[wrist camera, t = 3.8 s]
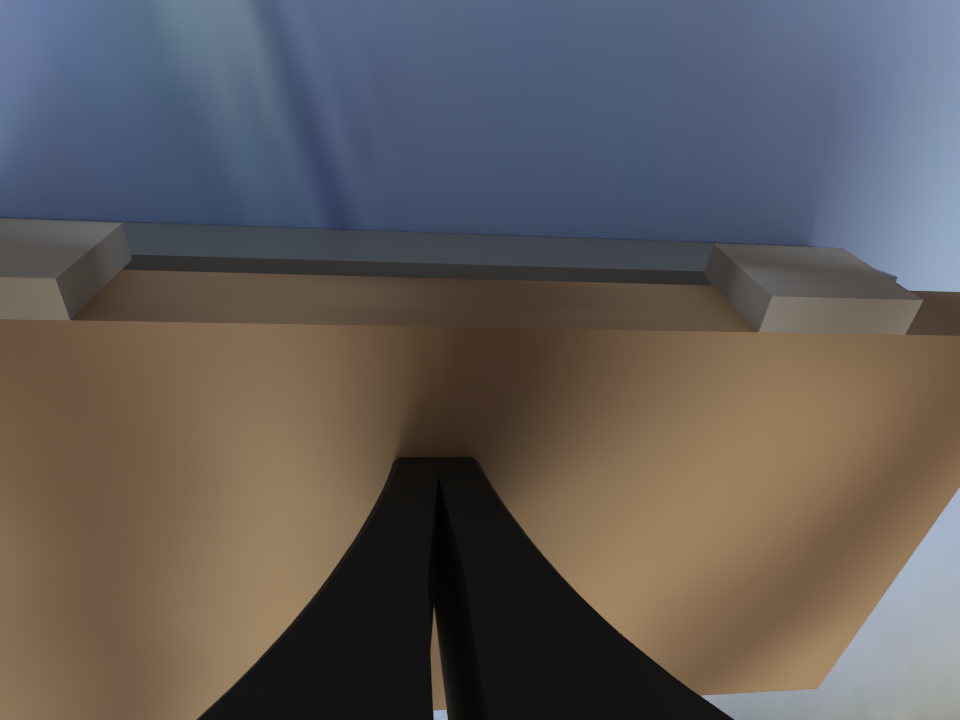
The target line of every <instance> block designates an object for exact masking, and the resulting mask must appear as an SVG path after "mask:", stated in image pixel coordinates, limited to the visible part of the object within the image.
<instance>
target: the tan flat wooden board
mask: <svg viewBox="0 0 960 720" xmlns="http://www.w3.org/2000/svg"><path fill="white" fill-rule="evenodd" d="M131 260H132V258H131V254H130V250H129V246H128V243H127V239H126V235H125V231H124V228H123V224H122V223H106V222H78V221H49V220H21V219H0V720H196V719H198V718H199V717H200V716H201V715H202V714H203V713H204V712H205V711H206V710H207V709H208V708H209V707H211V706H212V705H213V704H214V703H215V702H216V701H217V700H218V699H219V698H220V697H221V696H222V695H223V694H225V693H226V692H227V691H228V690H229V689H230V688H231V687H232V686H233V685H234V684H235V683H236V682H237V681H238V680H239V679H240V678H241V677H242V676H243V675H244V674H245V673H246V672H247V671H248V670H249V669H250V668H251V667H252V666H253V665H254V664H255V663H256V662H257V661H258V659H259V658H260V657H261V656H262V655H263V654H264V653H265V652H266V651H267V650H268V649H269V647H270V646H271V645H272V644H273V643H274V642H275V641H276V640H277V639H278V638H279V637H280V635H281V634H282V633H283V632H284V631H285V630H286V629H287V628H288V627H289V626H290V624H291V623H292V622H293V621H294V620H295V618H296V617H297V616H298V615H299V614H300V612H301V611H302V610H303V609H304V608H305V606H306V605H307V604H308V603H309V602H310V600H311V599H312V598H313V597H314V595H315V594H316V593H317V591H318V590H319V589H320V588H321V586H322V585H323V584H324V582H325V581H326V580H327V578H328V577H329V576H330V574H331V573H332V571H333V570H334V568H335V567H336V566H337V564H338V563H339V561H340V560H341V558H342V557H343V555H344V554H345V552H346V551H347V549H348V548H349V547H350V545H351V544H352V542H353V541H354V539H355V538H356V536H357V534H358V533H359V531H360V529H361V528H362V526H363V524H364V522H365V521H366V519H367V517H368V516H369V514H370V512H371V510H372V509H373V507H374V505H375V503H376V501H377V499H378V497H379V495H380V493H381V491H382V489H383V487H384V485H385V483H386V481H387V478H388V476H389V473H390V471H391V468H392V464H393V462H394V461H396V460H397V459H398V458H399V457H473V458H475V459H476V460H477V461H478V462H479V464H480V466H481V468H482V470H483V471H484V473H485V475H486V477H487V478H488V480H489V482H490V483H491V485H492V486H493V488H494V489H495V491H496V492H497V494H498V496H499V497H500V499H501V500H502V502H503V503H504V504H505V506H506V507H507V509H508V510H509V512H510V513H511V514H512V516H513V517H514V518H515V520H516V521H517V522H518V524H519V525H520V526H521V528H522V529H523V530H524V532H525V533H526V534H527V535H528V537H529V538H530V539H531V541H532V542H533V543H534V544H535V545H536V547H537V548H538V549H539V550H540V552H541V553H542V554H543V555H544V556H545V557H546V559H547V560H548V561H549V562H550V563H551V564H552V565H553V567H554V568H555V569H556V570H557V571H558V572H559V573H560V575H561V576H562V577H563V578H564V579H565V580H566V581H567V582H568V583H569V584H570V585H571V586H572V587H573V588H574V590H575V591H576V592H577V593H578V594H579V595H580V596H581V597H582V598H583V599H584V600H585V601H586V602H587V603H588V604H589V605H590V606H592V607H593V608H594V609H595V610H596V611H597V612H598V613H599V614H600V615H601V616H602V617H603V618H604V619H605V620H606V621H607V622H608V623H609V624H611V625H612V626H613V627H614V628H615V629H616V630H617V631H618V632H619V633H621V634H622V635H623V636H624V637H625V638H627V639H628V640H629V641H630V642H631V643H633V644H634V645H635V646H636V647H638V648H639V649H640V650H641V651H643V652H644V653H645V654H646V655H647V656H649V657H650V658H651V659H652V660H654V661H655V662H656V663H657V664H659V665H660V666H661V667H662V668H664V669H665V670H666V671H667V672H668V673H670V674H671V675H672V676H674V677H675V678H676V679H678V680H679V681H680V682H682V683H683V684H684V685H686V686H687V687H688V688H690V689H691V690H692V691H694V692H695V693H697V694H698V695H716V694H733V693H751V692H769V691H787V690H805V689H818V687H819V686H820V684H821V683H822V682H823V680H824V679H825V677H826V676H827V674H828V673H829V672H830V670H831V669H832V667H833V666H834V665H835V663H836V662H837V660H838V659H839V657H840V656H841V655H842V653H843V652H844V650H845V649H846V648H847V646H848V645H849V643H850V642H851V640H852V639H853V638H854V636H855V635H856V633H857V632H858V630H859V629H860V628H861V626H862V625H863V623H864V622H865V621H866V619H867V618H868V616H869V615H870V613H871V612H872V611H873V609H874V608H875V606H876V605H877V604H878V602H879V601H880V599H881V598H882V596H883V595H884V594H885V592H886V591H887V589H888V588H889V587H890V585H891V584H892V582H893V581H894V579H895V578H896V577H897V575H898V574H899V572H900V571H901V570H902V568H903V567H904V565H905V564H906V562H907V561H908V560H909V558H910V557H911V555H912V554H913V552H914V551H915V550H916V548H917V547H918V545H919V544H920V543H921V541H922V540H923V538H924V537H925V535H926V534H927V533H928V531H929V530H930V528H931V527H932V526H933V524H934V523H935V521H936V520H937V518H938V517H939V516H940V514H941V513H942V511H943V510H944V509H945V507H946V506H947V504H948V503H949V501H950V500H951V499H952V497H953V496H954V494H955V493H956V492H957V490H958V489H959V487H960V292H934V291H908V290H907V289H905V288H904V287H902V286H901V285H899V284H897V283H896V282H894V281H893V280H891V279H890V278H888V277H886V276H885V275H883V274H882V273H880V272H879V271H877V270H875V269H874V268H872V267H871V266H869V265H868V264H866V263H864V262H863V261H861V260H860V259H858V258H857V257H855V256H853V255H852V254H850V253H849V252H847V251H846V250H844V249H842V248H817V247H788V246H760V245H731V244H713V248H712V251H711V254H710V258H709V261H708V264H707V268H706V271H705V274H704V276H705V277H706V278H707V279H708V280H709V281H710V282H711V283H712V285H713V286H710V285H672V284H635V283H597V282H560V281H523V280H485V279H448V278H410V277H373V276H335V275H298V274H261V273H223V272H186V271H148V270H122V269H123V268H124V267H125V266H126V265H127V264H128V263H129V262H130V261H131ZM431 675H432V697H433V710H447V707H446V699H445V691H444V683H443V675H442V667H441V659H440V651H439V643H438V634H437V626H436V618H435V610H434V614H433V627H432V641H431Z"/></svg>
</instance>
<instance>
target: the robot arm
mask: <svg viewBox="0 0 960 720" xmlns="http://www.w3.org/2000/svg"><path fill="white" fill-rule="evenodd" d="M434 610H435V618H436V626H437V634H438V643H439V651H440V659H441V667H442V675H443V683H444V691H445V699H446V707H447V715H448V720H734V719H732V718H731V717H729V716H728V715H727V714H725V713H724V712H722V711H721V710H719V709H718V708H717V707H715V706H714V705H712V704H711V703H710V702H708V701H707V700H705V699H704V698H702V697H701V696H700V695H698V694H697V693H695V692H694V691H692V690H691V689H690V688H688V687H687V686H686V685H684V684H683V683H682V682H680V681H679V680H678V679H676V678H675V677H674V676H672V675H671V674H670V673H668V672H667V671H666V670H665V669H664V668H662V667H661V666H660V665H659V664H657V663H656V662H655V661H654V660H652V659H651V658H650V657H649V656H647V655H646V654H645V653H644V652H643V651H641V650H640V649H639V648H638V647H636V646H635V645H634V644H633V643H631V642H630V641H629V640H628V639H627V638H625V637H624V636H623V635H622V634H621V633H619V632H618V631H617V630H616V629H615V628H614V627H613V626H612V625H611V624H609V623H608V622H607V621H606V620H605V619H604V618H603V617H602V616H601V615H600V614H599V613H598V612H597V611H596V610H595V609H594V608H593V607H592V606H590V605H589V604H588V603H587V602H586V601H585V600H584V599H583V598H582V597H581V596H580V595H579V594H578V593H577V592H576V591H575V590H574V588H573V587H572V586H571V585H570V584H569V583H568V582H567V581H566V580H565V579H564V578H563V577H562V576H561V575H560V573H559V572H558V571H557V570H556V569H555V568H554V567H553V565H552V564H551V563H550V562H549V561H548V560H547V559H546V557H545V556H544V555H543V554H542V553H541V552H540V550H539V549H538V548H537V547H536V545H535V544H534V543H533V542H532V541H531V539H530V538H529V537H528V535H527V534H526V533H525V532H524V530H523V529H522V528H521V526H520V525H519V524H518V522H517V521H516V520H515V518H514V517H513V516H512V514H511V513H510V512H509V510H508V509H507V507H506V506H505V504H504V503H503V502H502V500H501V499H500V497H499V496H498V494H497V492H496V491H495V489H494V488H493V486H492V485H491V483H490V482H489V480H488V478H487V477H486V475H485V473H484V471H483V470H482V468H481V466H480V464H479V462H478V461H477V460H476V459H475V458H473V457H399V458H398V459H397V460H396V461H394V462H393V464H392V468H391V471H390V473H389V476H388V478H387V481H386V483H385V485H384V487H383V489H382V491H381V493H380V495H379V497H378V499H377V501H376V503H375V505H374V507H373V509H372V510H371V512H370V514H369V516H368V517H367V519H366V521H365V522H364V524H363V526H362V528H361V529H360V531H359V533H358V534H357V536H356V538H355V539H354V541H353V542H352V544H351V545H350V547H349V548H348V549H347V551H346V552H345V554H344V555H343V557H342V558H341V560H340V561H339V563H338V564H337V566H336V567H335V568H334V570H333V571H332V573H331V574H330V576H329V577H328V578H327V580H326V581H325V582H324V584H323V585H322V586H321V588H320V589H319V590H318V591H317V593H316V594H315V595H314V597H313V598H312V599H311V600H310V602H309V603H308V604H307V605H306V606H305V608H304V609H303V610H302V611H301V612H300V614H299V615H298V616H297V617H296V618H295V620H294V621H293V622H292V623H291V624H290V626H289V627H288V628H287V629H286V630H285V631H284V632H283V633H282V634H281V635H280V637H279V638H278V639H277V640H276V641H275V642H274V643H273V644H272V645H271V646H270V647H269V649H268V650H267V651H266V652H265V653H264V654H263V655H262V656H261V657H260V658H259V659H258V661H257V662H256V663H255V664H254V665H253V666H252V667H251V668H250V669H249V670H248V671H247V672H246V673H245V674H244V675H243V676H242V677H241V678H240V679H239V680H238V681H237V682H236V683H235V684H234V685H233V686H232V687H231V688H230V689H229V690H228V691H227V692H226V693H225V694H223V695H222V696H221V697H220V698H219V699H218V700H217V701H216V702H215V703H214V704H213V705H212V706H211V707H209V708H208V709H207V710H206V711H205V712H204V713H203V714H202V715H201V716H200V717H199V718H198V719H196V720H434V718H433V697H432V675H431V641H432V627H433V614H434Z"/></svg>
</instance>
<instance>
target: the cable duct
mask: <svg viewBox="0 0 960 720" xmlns="http://www.w3.org/2000/svg"><path fill="white" fill-rule="evenodd" d="M0 219H21V220H49V221H78V222H106V223H122V224H123V228H124V231H125V235H126V239H127V243H128V246H129V250H130V254H131V258H132V260H131V261H130V262H129V263H128V264H127V265H126V266H125V267H124V268H123V269H122V270H148V271H186V272H223V273H261V274H298V275H335V276H373V277H410V278H448V279H485V280H523V281H560V282H597V283H635V284H672V285H710V286H713V285H712V283H711V282H710V281H709V280H708V279H707V278H706V277H705V276H704V274H705V271H706V268H707V264H708V261H709V258H710V254H711V251H712V248H713V244H731V245H760V246H788V247H812V246H791V245H763V244H735V243H707V242H678V241H650V240H622V239H594V238H565V237H537V236H509V235H481V234H452V233H424V232H396V231H368V230H339V229H311V228H283V227H255V226H227V225H198V224H170V223H142V222H114V221H85V220H57V219H29V218H1V217H0ZM875 270H876V269H875ZM877 271H879V270H877ZM879 272H880V273H882V274H883V275H885V276H886V277H888V278H890V279H891V280H893V281H894V282H896V279H897V277H896V276H893V275H890V274H887V273H885V272H882V271H879Z"/></svg>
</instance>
